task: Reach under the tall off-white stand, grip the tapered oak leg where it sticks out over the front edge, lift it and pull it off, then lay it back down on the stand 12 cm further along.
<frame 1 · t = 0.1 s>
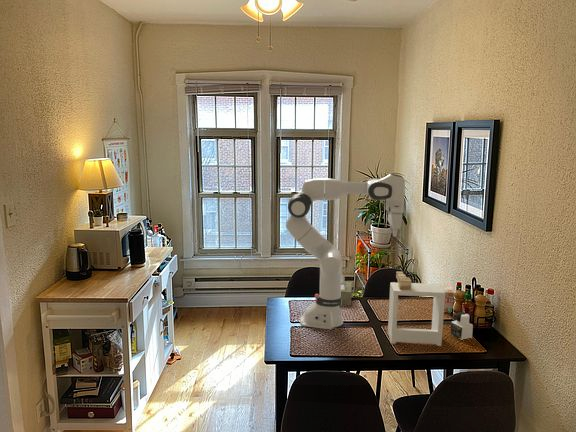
hand: (393, 234, 225), 48 cm above the table, tool pointing down, fingers open, 8 cm apart
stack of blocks: (444, 306, 260), on the table
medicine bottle: (461, 337, 220), on the table
white stand: (413, 338, 217), on the table
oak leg: (402, 283, 218), point 26 cm above the table, touching white stand
tissue box: (342, 299, 270), on the table
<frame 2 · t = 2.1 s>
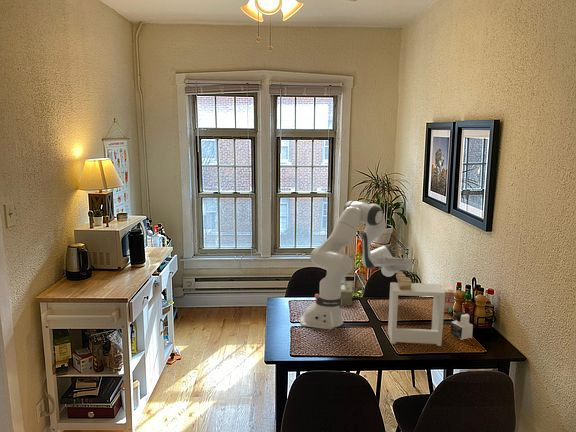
hand: (394, 258, 245), 31 cm above the table, tool pointing upward, fingers open, 8 cm apart
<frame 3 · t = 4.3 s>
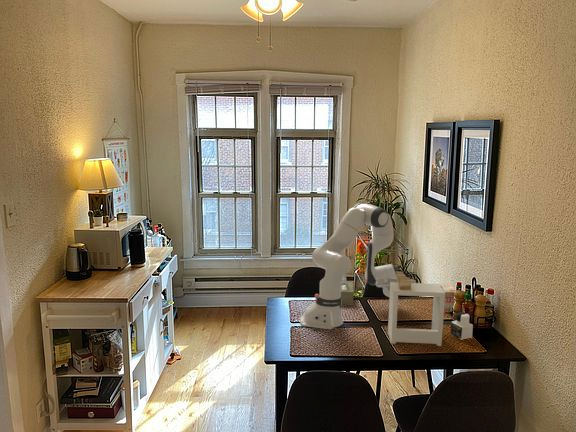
hand: (397, 280, 232), 23 cm above the table, tool pointing upward, fingers open, 8 cm apart
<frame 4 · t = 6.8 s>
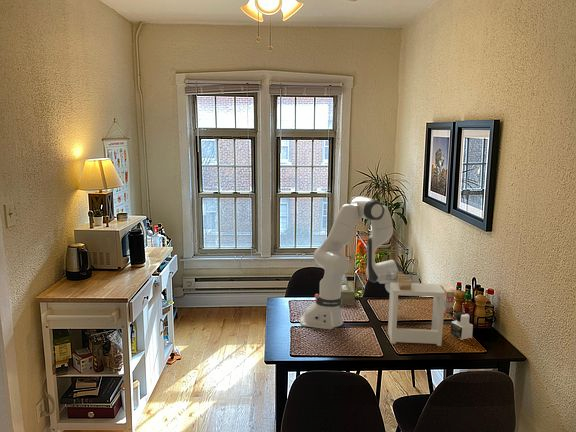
hand: (400, 275, 224), 28 cm above the table, tool pointing upward, fingers closed on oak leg, 3 cm apart
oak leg: (402, 283, 218), point 26 cm above the table, touching gripper, white stand
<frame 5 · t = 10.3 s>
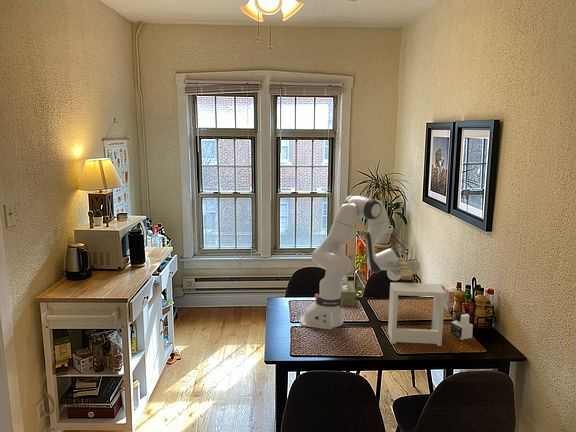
hand: (402, 262, 233), 32 cm above the table, tool pointing upward, fingers closed on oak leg, 3 cm apart
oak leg: (403, 271, 228), point 29 cm above the table, tilted 9°, touching gripper
when the fingers open (29 cm above the table, at t = 14.2 s): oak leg stays where it is, resting on white stand.
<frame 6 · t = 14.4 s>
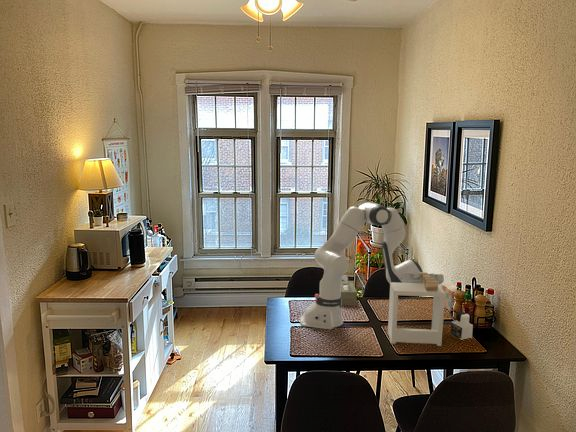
hand: (425, 274, 222), 29 cm above the table, tool pointing upward, fingers open, 5 cm apart
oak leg: (427, 284, 217), point 26 cm above the table, touching white stand
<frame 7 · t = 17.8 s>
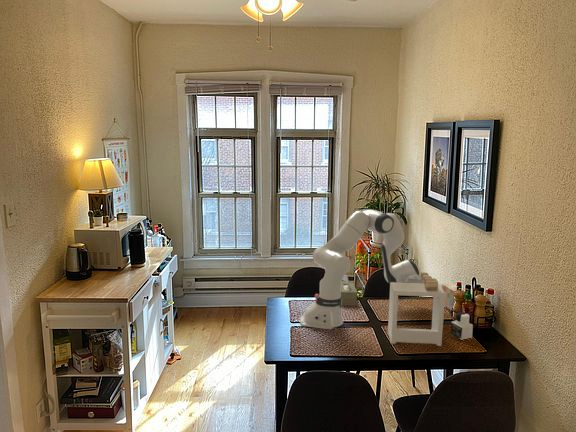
hand: (417, 281, 234), 22 cm above the table, tool pointing upward, fingers open, 8 cm apart
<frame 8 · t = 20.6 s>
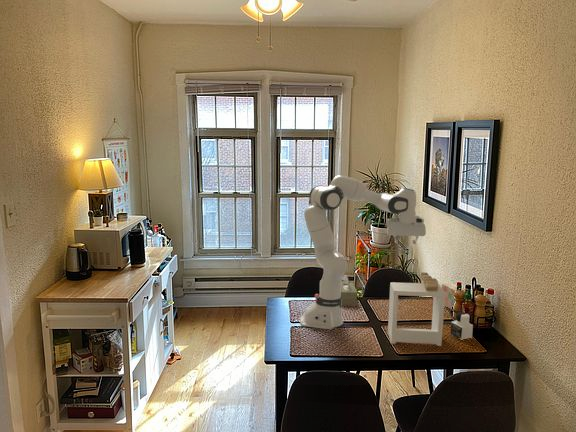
hand: (405, 243, 243), 39 cm above the table, tool pointing down, fingers open, 8 cm apart
at the end: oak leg inside the target area (0.1 cm from its centre), point 26.0 cm above the table; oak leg touching white stand; the gripper is holding nothing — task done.
